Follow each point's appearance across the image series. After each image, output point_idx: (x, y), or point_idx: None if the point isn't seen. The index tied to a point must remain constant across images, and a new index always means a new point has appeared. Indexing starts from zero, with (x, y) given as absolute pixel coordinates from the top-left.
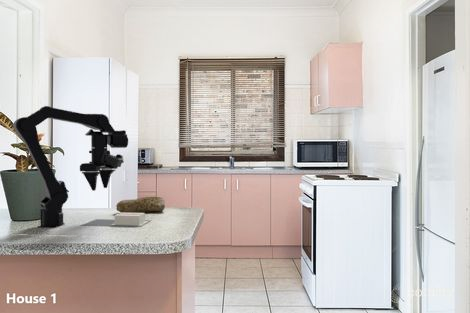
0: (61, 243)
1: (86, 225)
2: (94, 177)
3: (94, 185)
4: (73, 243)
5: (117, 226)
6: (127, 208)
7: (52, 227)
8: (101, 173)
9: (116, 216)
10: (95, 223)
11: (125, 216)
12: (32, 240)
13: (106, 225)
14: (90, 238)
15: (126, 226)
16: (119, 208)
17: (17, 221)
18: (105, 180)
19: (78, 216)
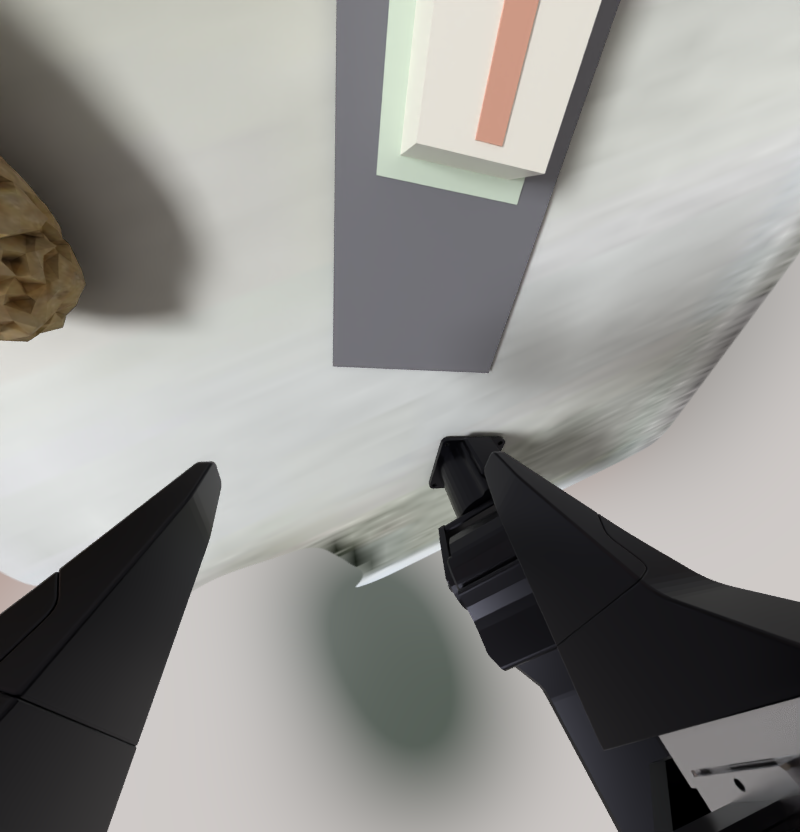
0: (746, 307)
1: (494, 345)
2: (681, 572)
3: (548, 488)
4: (779, 262)
5: (572, 133)
6: (21, 190)
7: (503, 444)
8: (103, 793)
9: (545, 153)
10: (452, 321)
11: (585, 35)
12: (648, 409)
13: (519, 233)
14: (745, 220)
15: (600, 36)
16: (70, 288)
17: (374, 564)
18: (166, 572)
19: (248, 478)
